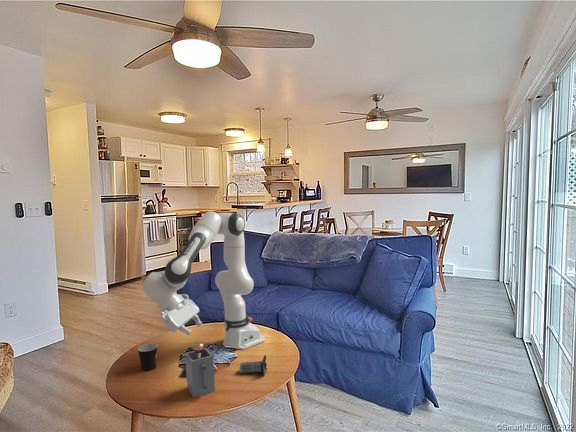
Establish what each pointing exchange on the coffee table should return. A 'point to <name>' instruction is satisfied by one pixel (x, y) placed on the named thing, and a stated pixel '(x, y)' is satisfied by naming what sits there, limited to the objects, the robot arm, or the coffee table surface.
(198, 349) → the ball-topped press plunger
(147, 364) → the coffee mug
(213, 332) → the coffee table surface
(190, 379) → the box
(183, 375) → the phone
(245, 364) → the beverage can
